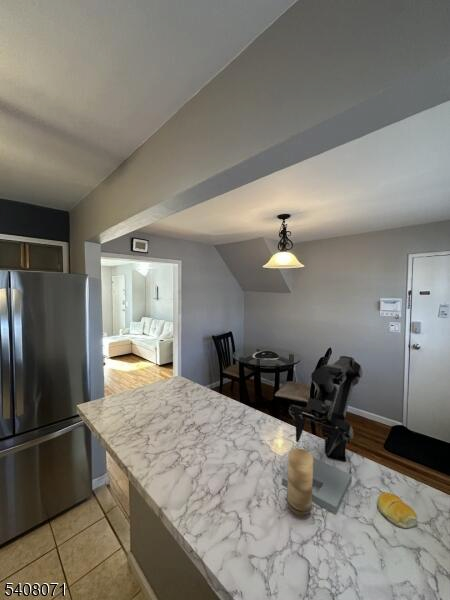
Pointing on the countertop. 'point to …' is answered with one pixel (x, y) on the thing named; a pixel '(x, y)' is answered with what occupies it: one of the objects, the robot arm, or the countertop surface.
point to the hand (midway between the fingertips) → (311, 448)
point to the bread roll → (396, 510)
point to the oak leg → (300, 481)
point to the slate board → (327, 485)
